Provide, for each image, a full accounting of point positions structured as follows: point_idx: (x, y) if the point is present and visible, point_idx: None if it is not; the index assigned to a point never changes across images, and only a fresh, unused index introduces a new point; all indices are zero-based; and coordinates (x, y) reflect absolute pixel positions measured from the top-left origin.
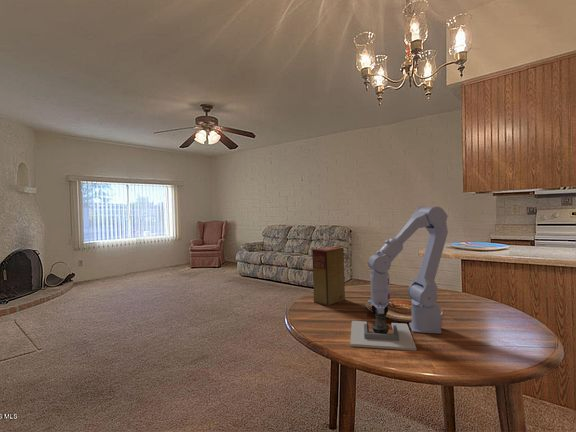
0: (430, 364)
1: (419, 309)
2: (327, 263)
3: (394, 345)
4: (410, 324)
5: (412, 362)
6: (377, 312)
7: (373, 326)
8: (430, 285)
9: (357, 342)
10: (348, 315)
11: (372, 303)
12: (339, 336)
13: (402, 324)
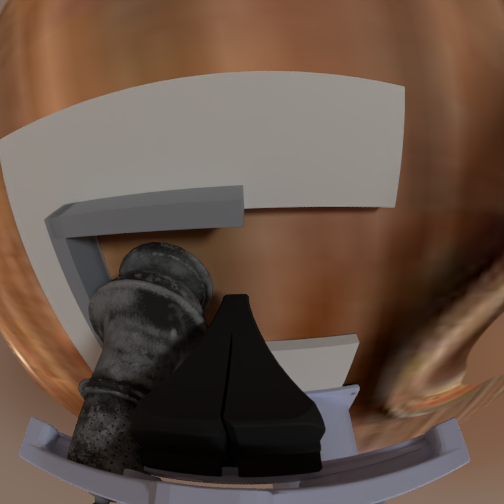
0: (56, 375)
1: (277, 488)
2: None
3: (75, 333)
4: (337, 392)
5: (36, 347)
6: (77, 422)
7: (113, 296)
8: None
9: (16, 173)
10: (498, 97)
11: (123, 493)
12: (95, 26)
13: (333, 377)
